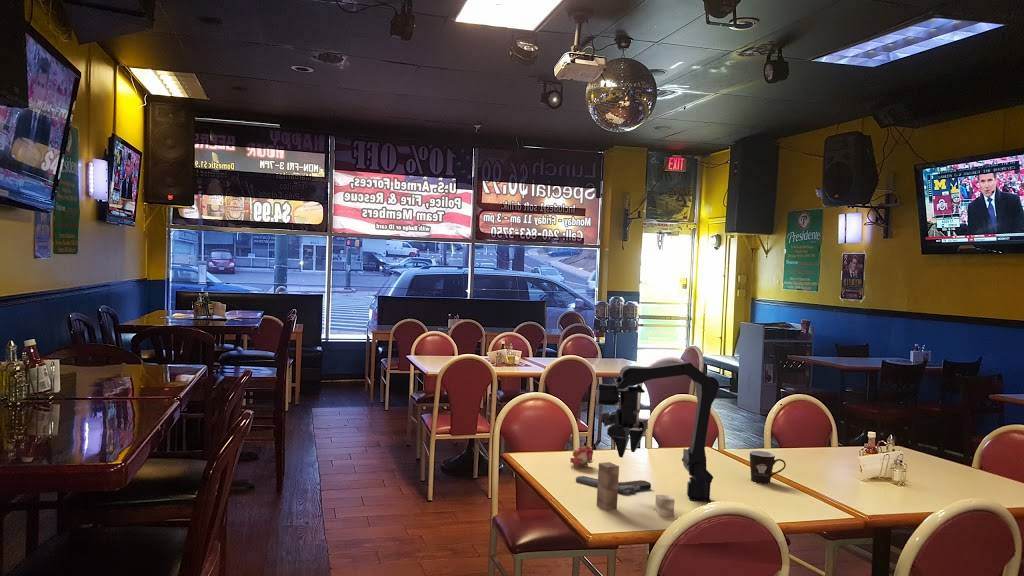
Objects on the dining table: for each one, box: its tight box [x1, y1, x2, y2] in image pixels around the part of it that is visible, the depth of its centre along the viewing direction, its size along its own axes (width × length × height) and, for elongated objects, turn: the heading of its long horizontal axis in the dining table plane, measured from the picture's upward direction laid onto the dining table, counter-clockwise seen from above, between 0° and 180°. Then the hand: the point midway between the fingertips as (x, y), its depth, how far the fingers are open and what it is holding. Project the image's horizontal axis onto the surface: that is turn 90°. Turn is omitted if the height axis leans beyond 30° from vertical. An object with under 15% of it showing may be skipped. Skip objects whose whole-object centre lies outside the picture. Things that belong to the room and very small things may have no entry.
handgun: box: [575, 475, 652, 495], centre depth 245 cm, size 3×22×14 cm
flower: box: [569, 445, 594, 469], centre depth 267 cm, size 10×9×8 cm
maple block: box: [654, 494, 676, 517], centre depth 217 cm, size 4×4×5 cm
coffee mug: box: [749, 450, 787, 485], centre depth 259 cm, size 12×9×10 cm
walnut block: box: [596, 461, 620, 512], centre depth 220 cm, size 4×5×13 cm
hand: (627, 454), depth 234 cm, fingers open, 9 cm apart
